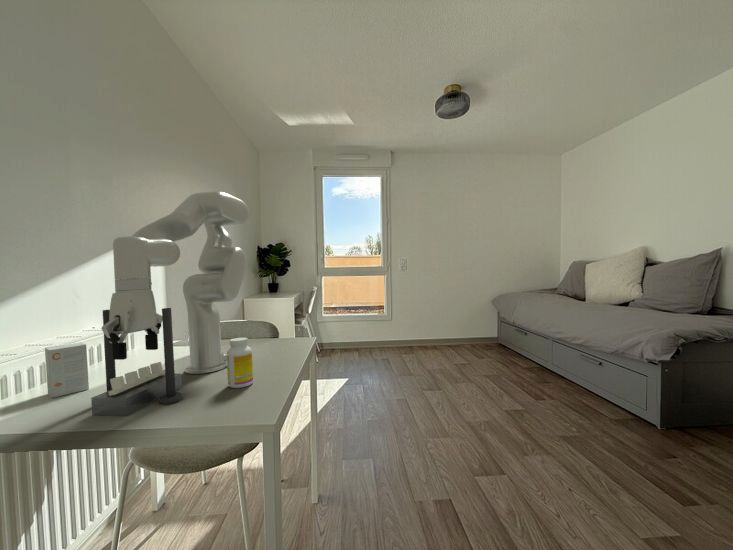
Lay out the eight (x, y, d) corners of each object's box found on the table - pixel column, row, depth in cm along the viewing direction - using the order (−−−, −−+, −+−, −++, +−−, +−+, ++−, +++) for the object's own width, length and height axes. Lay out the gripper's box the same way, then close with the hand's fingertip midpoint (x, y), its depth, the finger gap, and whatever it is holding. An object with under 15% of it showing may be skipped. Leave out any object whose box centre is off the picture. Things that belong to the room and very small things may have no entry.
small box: (84, 385, 100) (82, 341, 99) (89, 389, 95) (86, 344, 95) (46, 393, 93) (44, 347, 93) (50, 398, 89) (47, 350, 89)
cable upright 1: (123, 394, 90) (119, 308, 90) (124, 399, 86) (119, 309, 86) (100, 399, 87) (95, 310, 87) (99, 405, 83) (94, 311, 83)
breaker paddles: (160, 374, 93) (157, 362, 94) (167, 372, 93) (164, 360, 93) (107, 396, 78) (104, 381, 78) (116, 394, 77) (113, 379, 77)
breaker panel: (153, 387, 95) (152, 373, 95) (181, 387, 94) (181, 373, 94) (92, 415, 77) (91, 397, 77) (126, 416, 76) (125, 398, 76)
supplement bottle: (258, 382, 96) (256, 337, 96) (240, 390, 90) (238, 342, 90) (241, 379, 99) (238, 336, 99) (222, 387, 93) (220, 341, 92)
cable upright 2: (181, 395, 88) (176, 306, 87) (184, 400, 84) (179, 308, 83) (158, 400, 85) (153, 308, 84) (160, 406, 81) (155, 310, 80)
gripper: (147, 285, 94) (150, 346, 94) (87, 288, 76) (91, 363, 77) (171, 284, 92) (174, 346, 93) (116, 287, 75) (120, 363, 76)
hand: (136, 354), depth 85 cm, fingers open, 9 cm apart
